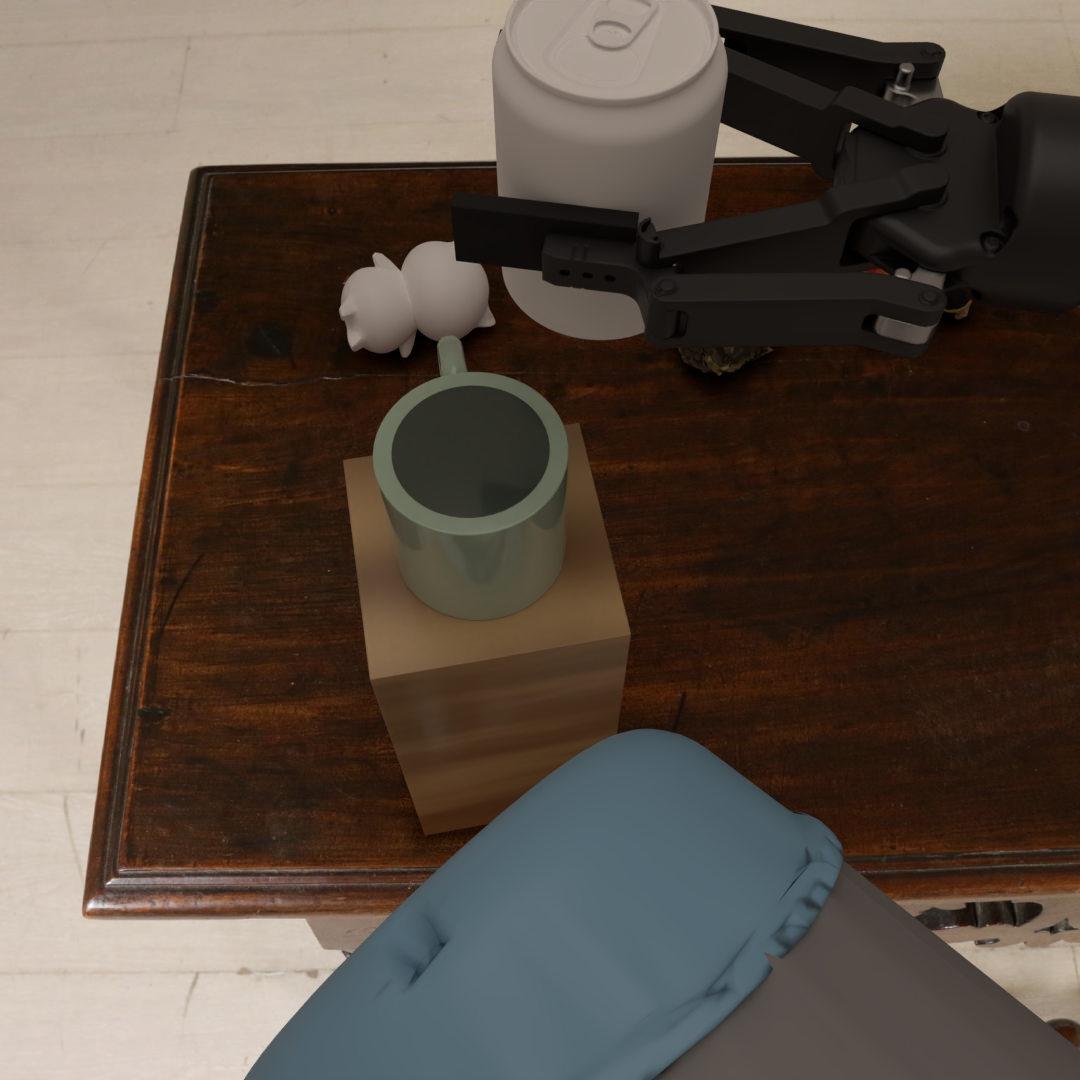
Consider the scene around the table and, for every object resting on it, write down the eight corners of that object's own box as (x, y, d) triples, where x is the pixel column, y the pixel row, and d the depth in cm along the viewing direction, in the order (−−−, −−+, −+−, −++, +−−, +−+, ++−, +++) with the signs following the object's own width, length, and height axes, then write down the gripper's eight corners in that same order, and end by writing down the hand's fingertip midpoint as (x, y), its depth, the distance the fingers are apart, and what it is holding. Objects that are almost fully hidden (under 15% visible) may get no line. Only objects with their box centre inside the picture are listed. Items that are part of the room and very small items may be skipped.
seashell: (623, 253, 99) (647, 188, 93) (719, 251, 101) (748, 188, 96) (681, 404, 90) (710, 343, 85) (783, 398, 93) (819, 339, 87)
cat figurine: (329, 280, 85) (484, 234, 87) (316, 248, 95) (456, 208, 96) (363, 388, 90) (511, 343, 91) (348, 348, 99) (482, 308, 100)
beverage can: (470, 314, 48) (449, 69, 38) (547, 184, 52) (547, -72, 41) (654, 375, 47) (685, 137, 36) (720, 237, 50) (765, -16, 40)
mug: (582, 604, 54) (586, 516, 47) (406, 634, 53) (384, 549, 46) (536, 404, 60) (534, 298, 52) (377, 429, 59) (353, 325, 52)
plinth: (607, 802, 76) (631, 634, 53) (424, 836, 75) (369, 679, 52) (571, 636, 82) (579, 422, 59) (401, 666, 81) (342, 459, 58)
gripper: (1119, -63, 44) (524, -118, 46) (1175, 377, 34) (407, 281, 36) (1045, 101, 50) (527, 46, 52) (1073, 511, 40) (428, 424, 42)
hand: (479, 141), depth 44 cm, fingers closed on beverage can, 8 cm apart
